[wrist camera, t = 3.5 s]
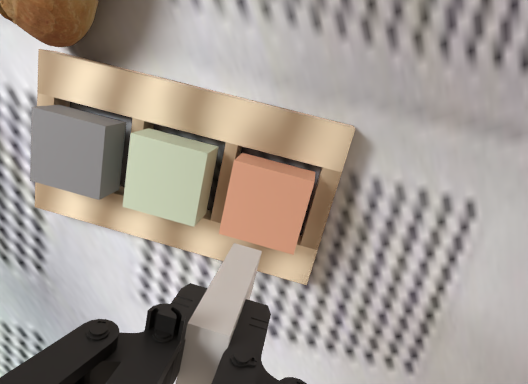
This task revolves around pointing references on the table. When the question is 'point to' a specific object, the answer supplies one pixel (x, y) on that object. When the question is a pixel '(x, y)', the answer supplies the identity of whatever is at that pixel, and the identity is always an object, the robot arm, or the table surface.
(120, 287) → the table surface
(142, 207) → the sage tile
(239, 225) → the terracotta tile
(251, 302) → the robot arm
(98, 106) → the board
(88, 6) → the bread roll
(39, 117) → the charcoal tile
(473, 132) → the table surface
